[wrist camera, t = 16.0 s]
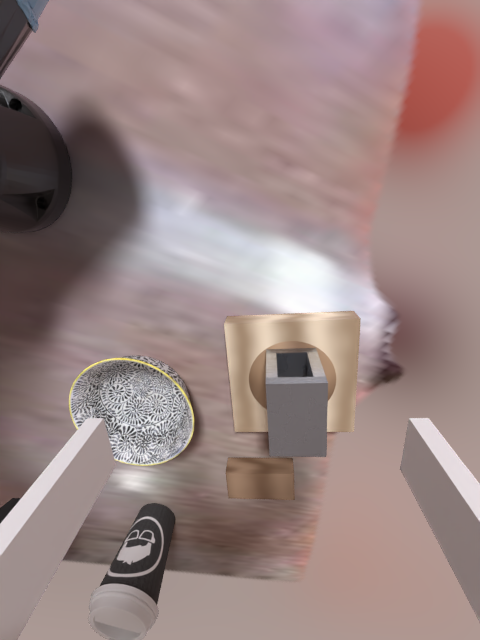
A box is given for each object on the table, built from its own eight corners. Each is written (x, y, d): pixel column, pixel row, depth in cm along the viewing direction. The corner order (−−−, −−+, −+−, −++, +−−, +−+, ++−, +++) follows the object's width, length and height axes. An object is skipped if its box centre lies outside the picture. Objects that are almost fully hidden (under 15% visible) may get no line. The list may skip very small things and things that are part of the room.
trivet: (237, 418, 45) (234, 432, 42) (227, 316, 39) (224, 324, 36) (348, 417, 43) (353, 432, 40) (353, 310, 37) (360, 319, 35)
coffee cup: (121, 517, 54) (70, 624, 40) (148, 488, 51) (102, 592, 37) (165, 543, 55) (130, 655, 41) (194, 516, 52) (166, 627, 38)
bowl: (220, 419, 45) (210, 457, 38) (125, 436, 48) (100, 475, 41) (184, 322, 40) (166, 345, 33) (82, 347, 43) (45, 374, 36)
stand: (231, 481, 49) (228, 498, 46) (228, 457, 47) (225, 473, 44) (293, 482, 48) (294, 499, 45) (292, 458, 46) (293, 474, 43)
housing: (266, 349, 37) (265, 384, 30) (315, 347, 36) (328, 383, 29) (269, 410, 40) (269, 456, 32) (315, 410, 39) (326, 456, 32)
